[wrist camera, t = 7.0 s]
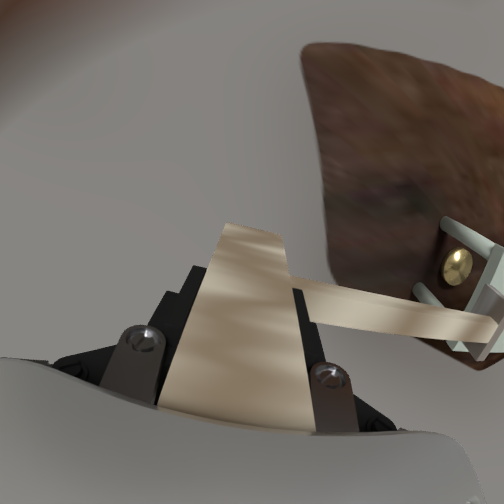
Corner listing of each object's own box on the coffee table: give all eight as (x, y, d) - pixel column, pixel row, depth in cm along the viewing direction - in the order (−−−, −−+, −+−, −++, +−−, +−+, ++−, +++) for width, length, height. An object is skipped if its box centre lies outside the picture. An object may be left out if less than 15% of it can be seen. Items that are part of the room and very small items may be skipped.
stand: (510, 247, 28) (558, 280, 18) (481, 309, 32) (520, 352, 22) (442, 213, 27) (504, 249, 17) (409, 293, 31) (452, 350, 21)
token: (471, 250, 29) (477, 255, 28) (456, 283, 31) (462, 288, 30) (448, 241, 29) (455, 245, 28) (433, 276, 31) (439, 281, 29)
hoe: (492, 285, 16) (593, 395, 3) (464, 336, 18) (542, 455, 5) (228, 213, 15) (114, 516, 2) (211, 293, 17) (146, 542, 4)
